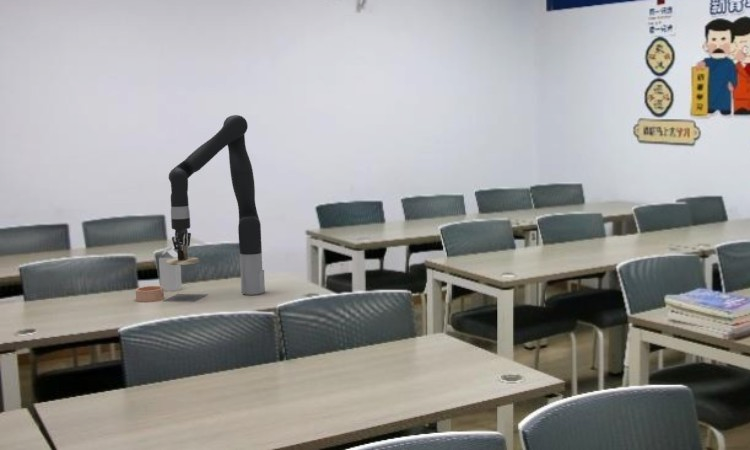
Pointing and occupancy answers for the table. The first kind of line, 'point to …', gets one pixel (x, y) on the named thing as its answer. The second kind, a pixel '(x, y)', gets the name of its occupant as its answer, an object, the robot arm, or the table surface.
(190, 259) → the lid
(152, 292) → the bowl
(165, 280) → the milk carton
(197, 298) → the mat
